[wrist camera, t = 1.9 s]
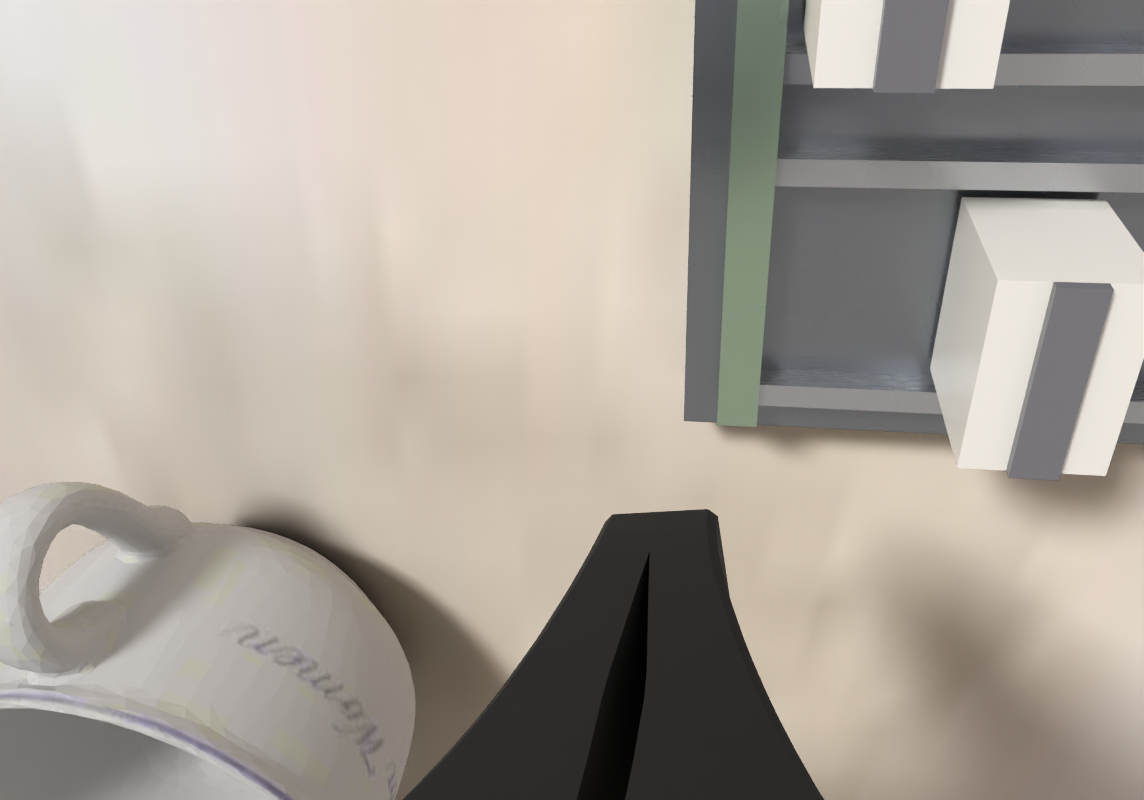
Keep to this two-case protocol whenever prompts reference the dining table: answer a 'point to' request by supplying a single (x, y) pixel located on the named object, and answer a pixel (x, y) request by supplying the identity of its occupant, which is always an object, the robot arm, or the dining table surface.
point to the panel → (878, 204)
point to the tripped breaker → (1039, 335)
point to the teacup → (189, 662)
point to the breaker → (904, 44)
